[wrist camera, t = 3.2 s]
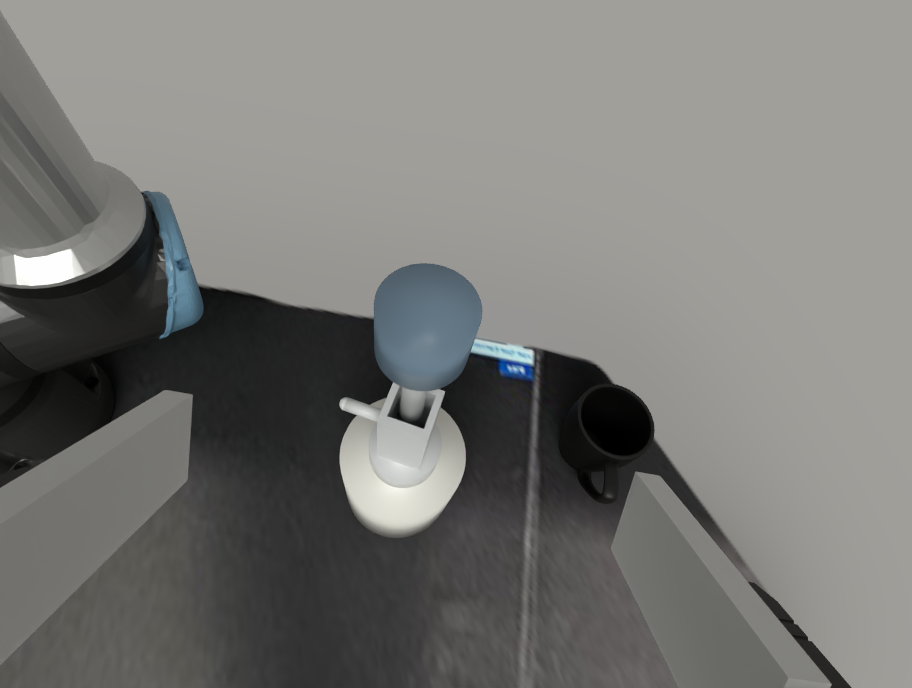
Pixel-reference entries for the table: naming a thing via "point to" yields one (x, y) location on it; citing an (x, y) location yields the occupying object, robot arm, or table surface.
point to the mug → (605, 436)
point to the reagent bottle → (400, 464)
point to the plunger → (424, 330)
